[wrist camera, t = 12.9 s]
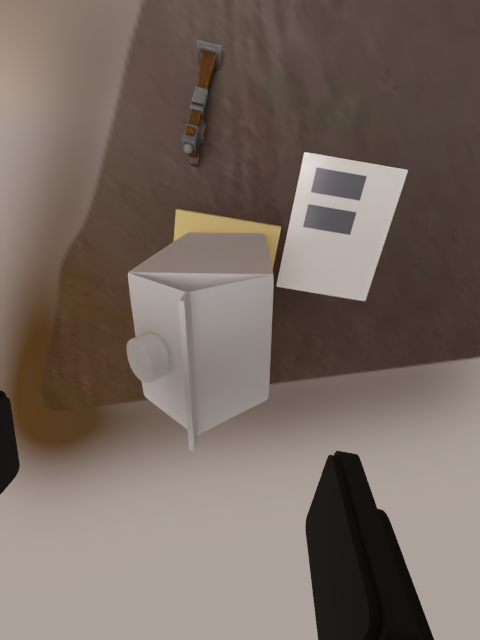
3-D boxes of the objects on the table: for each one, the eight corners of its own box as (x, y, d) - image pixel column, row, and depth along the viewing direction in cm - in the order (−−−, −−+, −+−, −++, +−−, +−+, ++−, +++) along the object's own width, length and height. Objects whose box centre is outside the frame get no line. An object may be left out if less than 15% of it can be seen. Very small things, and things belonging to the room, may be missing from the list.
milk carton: (265, 232, 29) (280, 302, 11) (263, 306, 32) (272, 455, 14) (187, 231, 29) (84, 299, 12) (191, 305, 32) (113, 449, 14)
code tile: (406, 170, 28) (408, 170, 27) (364, 300, 32) (365, 301, 32) (303, 152, 27) (304, 151, 27) (276, 285, 32) (276, 286, 32)
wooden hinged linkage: (181, 173, 28) (173, 143, 23) (201, 83, 28) (197, 37, 23) (202, 178, 28) (198, 149, 23) (221, 88, 28) (221, 43, 23)
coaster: (280, 225, 30) (281, 227, 29) (261, 319, 33) (261, 323, 32) (178, 208, 29) (176, 209, 29) (170, 304, 33) (168, 308, 32)
